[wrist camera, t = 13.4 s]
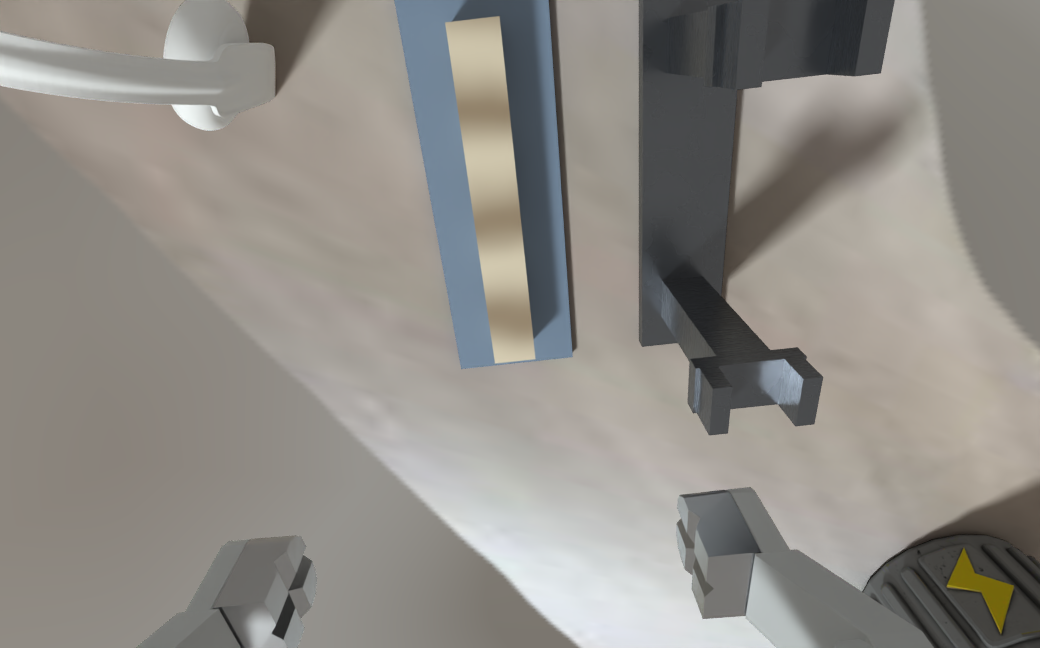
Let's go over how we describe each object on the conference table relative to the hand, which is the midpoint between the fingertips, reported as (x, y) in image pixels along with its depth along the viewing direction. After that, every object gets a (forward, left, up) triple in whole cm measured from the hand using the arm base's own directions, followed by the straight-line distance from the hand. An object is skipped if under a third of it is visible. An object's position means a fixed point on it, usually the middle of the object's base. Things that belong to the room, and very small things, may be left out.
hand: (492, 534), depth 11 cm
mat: (0, 0, -29) cm, 29 cm away
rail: (0, 0, -28) cm, 28 cm away
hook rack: (0, +13, -29) cm, 32 cm away
